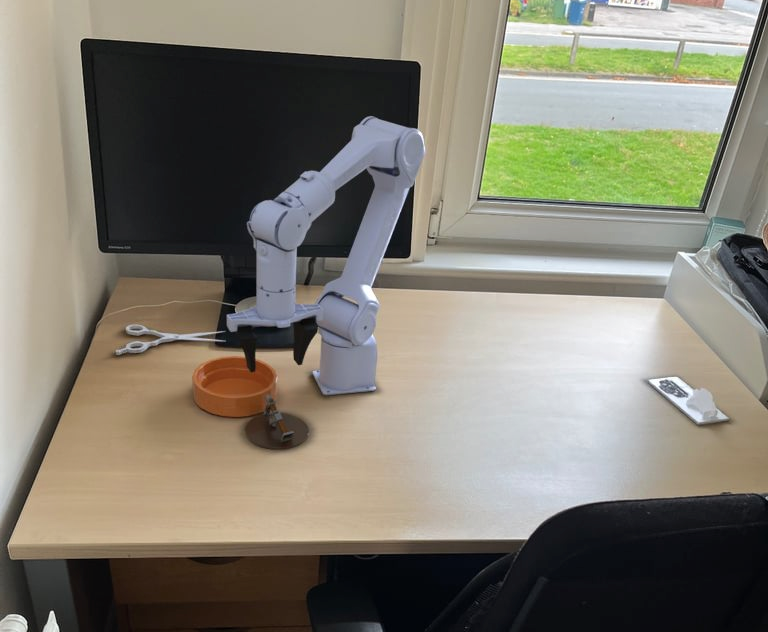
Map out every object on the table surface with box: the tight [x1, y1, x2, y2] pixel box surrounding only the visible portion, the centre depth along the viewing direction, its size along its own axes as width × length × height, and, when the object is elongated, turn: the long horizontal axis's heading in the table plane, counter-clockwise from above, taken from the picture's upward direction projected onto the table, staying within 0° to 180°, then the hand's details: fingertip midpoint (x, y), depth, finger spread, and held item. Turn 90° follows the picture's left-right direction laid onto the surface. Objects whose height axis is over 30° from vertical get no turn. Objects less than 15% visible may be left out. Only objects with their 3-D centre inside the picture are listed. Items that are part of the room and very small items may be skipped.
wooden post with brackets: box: [262, 395, 294, 442], centre depth 129 cm, size 2×8×4 cm, turn 33°
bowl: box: [191, 355, 278, 418], centre depth 136 cm, size 14×14×4 cm
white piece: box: [647, 376, 730, 426], centre depth 149 cm, size 15×7×4 cm, turn 20°
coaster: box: [244, 412, 310, 451], centre depth 130 cm, size 10×10×1 cm
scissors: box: [115, 324, 226, 356], centre depth 152 cm, size 11×1×20 cm
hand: (274, 365), depth 129 cm, fingers open, 7 cm apart
